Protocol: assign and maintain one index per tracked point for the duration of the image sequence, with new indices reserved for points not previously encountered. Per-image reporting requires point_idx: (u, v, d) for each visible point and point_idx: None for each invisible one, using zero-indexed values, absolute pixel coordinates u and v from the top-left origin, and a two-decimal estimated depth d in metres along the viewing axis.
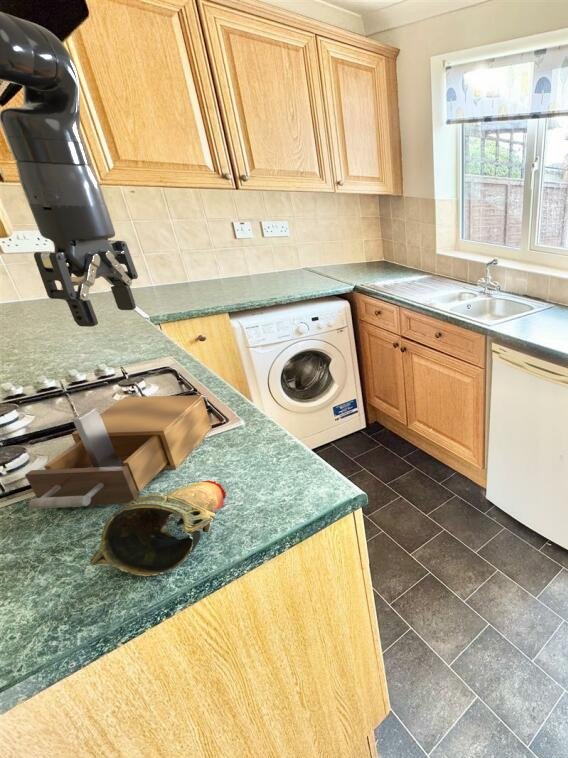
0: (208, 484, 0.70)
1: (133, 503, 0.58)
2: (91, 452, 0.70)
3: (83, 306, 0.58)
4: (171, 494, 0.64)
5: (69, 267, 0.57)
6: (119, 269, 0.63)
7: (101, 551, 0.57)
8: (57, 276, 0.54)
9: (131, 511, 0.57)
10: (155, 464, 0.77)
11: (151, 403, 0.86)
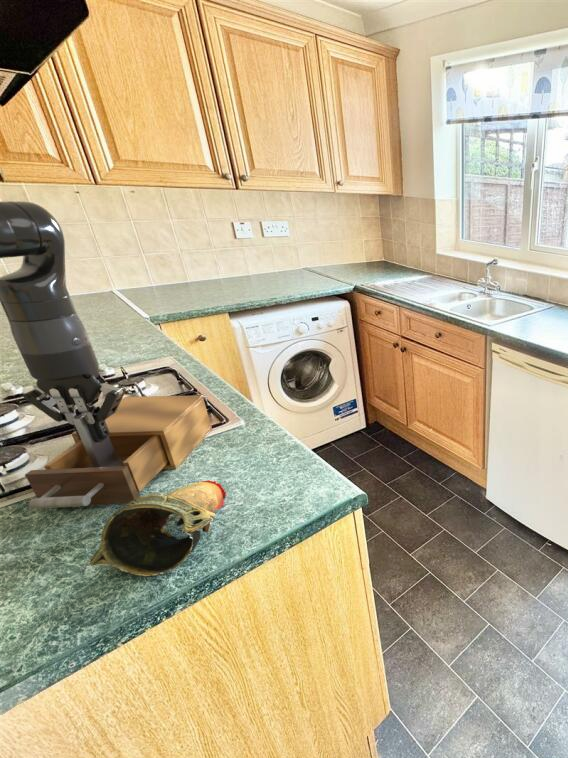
0: (208, 484, 0.70)
1: (133, 503, 0.58)
2: (91, 452, 0.70)
3: None
4: (171, 494, 0.64)
5: None
6: (79, 406, 0.67)
7: (101, 551, 0.57)
8: None
9: (131, 511, 0.57)
10: (155, 464, 0.77)
11: (151, 403, 0.86)
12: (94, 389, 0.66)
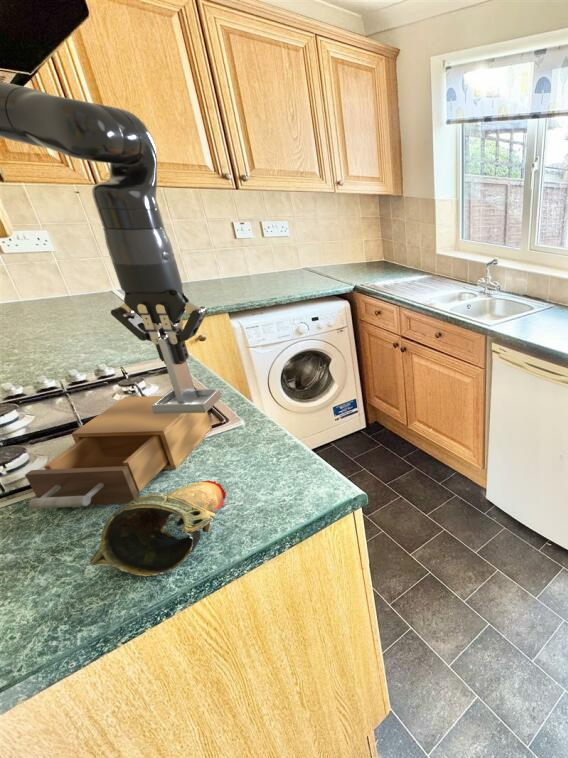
0: (208, 484, 0.70)
1: (133, 503, 0.58)
2: (173, 375, 0.70)
3: (159, 348, 0.69)
4: (171, 494, 0.64)
5: None
6: (164, 324, 0.67)
7: (101, 551, 0.57)
8: None
9: (131, 511, 0.57)
10: (155, 464, 0.77)
11: (151, 403, 0.86)
12: (179, 307, 0.67)
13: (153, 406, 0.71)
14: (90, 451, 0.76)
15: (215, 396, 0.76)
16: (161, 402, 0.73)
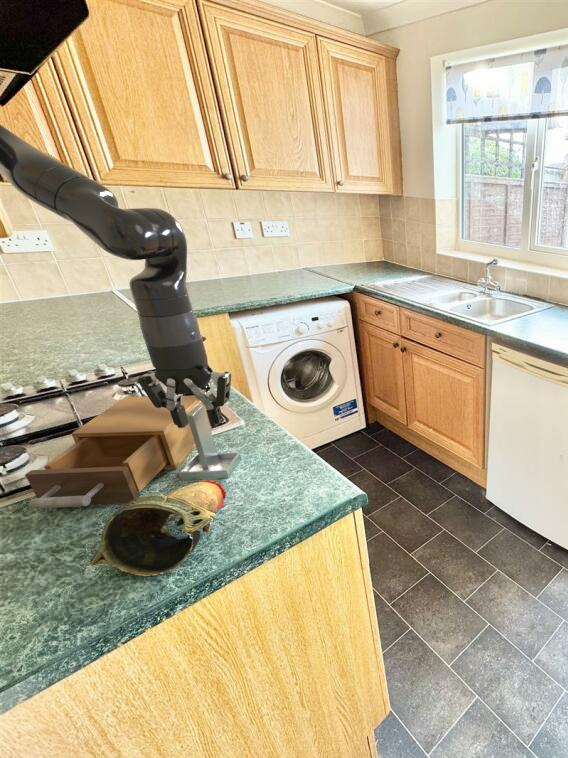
0: (208, 484, 0.70)
1: (133, 503, 0.58)
2: (199, 445, 0.77)
3: (173, 413, 0.74)
4: (171, 494, 0.64)
5: None
6: (197, 394, 0.73)
7: (101, 551, 0.57)
8: None
9: (131, 511, 0.57)
10: (155, 464, 0.77)
11: (151, 403, 0.86)
12: (205, 379, 0.73)
13: (181, 473, 0.77)
14: (90, 451, 0.76)
15: (236, 460, 0.82)
16: (187, 468, 0.79)
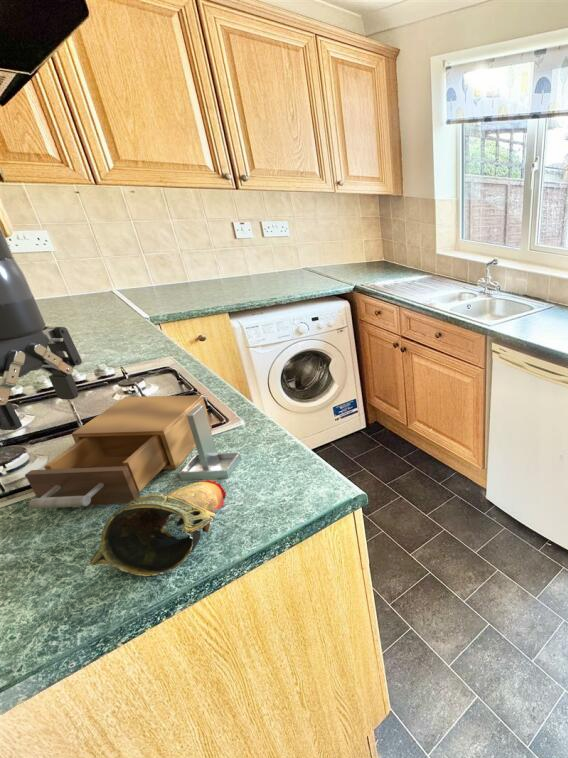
0: (208, 484, 0.70)
1: (133, 503, 0.58)
2: (199, 445, 0.77)
3: (2, 410, 0.52)
4: (171, 494, 0.64)
5: None
6: (54, 360, 0.58)
7: (101, 551, 0.57)
8: None
9: (131, 511, 0.57)
10: (155, 464, 0.77)
11: (151, 403, 0.86)
12: (47, 343, 0.57)
13: (181, 473, 0.77)
14: (90, 451, 0.76)
15: (236, 460, 0.82)
16: (187, 468, 0.79)
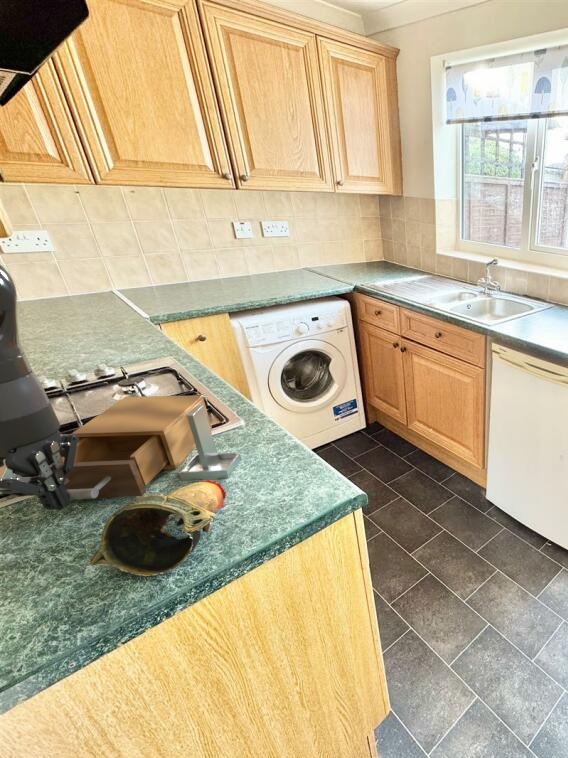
0: (208, 484, 0.70)
1: (133, 503, 0.58)
2: (199, 445, 0.77)
3: (52, 495, 0.62)
4: (171, 494, 0.64)
5: None
6: (57, 462, 0.62)
7: (101, 551, 0.57)
8: (18, 491, 0.57)
9: (131, 511, 0.57)
10: (161, 458, 0.78)
11: (151, 403, 0.86)
12: (59, 438, 0.63)
13: (181, 473, 0.77)
14: (97, 446, 0.78)
15: (236, 460, 0.82)
16: (187, 468, 0.79)
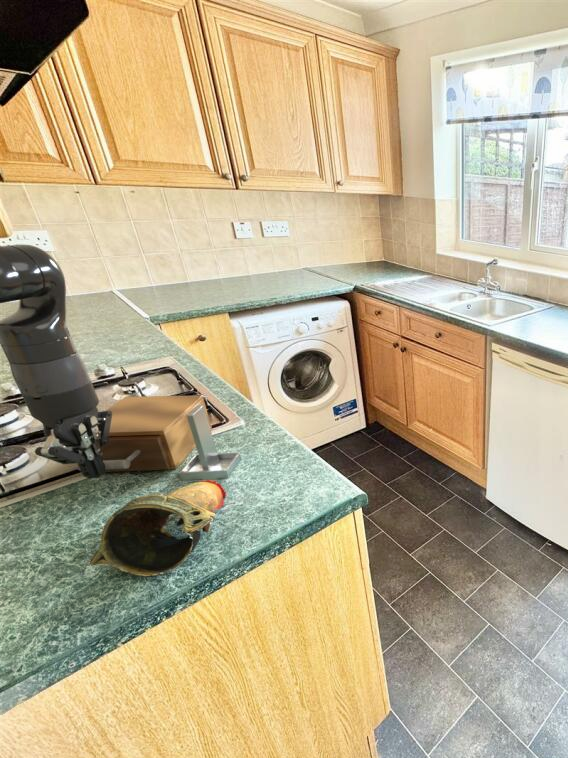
0: (208, 484, 0.70)
1: (133, 503, 0.58)
2: (199, 445, 0.77)
3: (90, 464, 0.69)
4: (171, 494, 0.64)
5: None
6: (96, 435, 0.69)
7: (101, 551, 0.57)
8: (64, 458, 0.64)
9: (131, 511, 0.57)
10: None
11: (151, 403, 0.86)
12: (97, 413, 0.70)
13: (181, 473, 0.77)
14: None
15: (236, 460, 0.82)
16: (187, 468, 0.79)
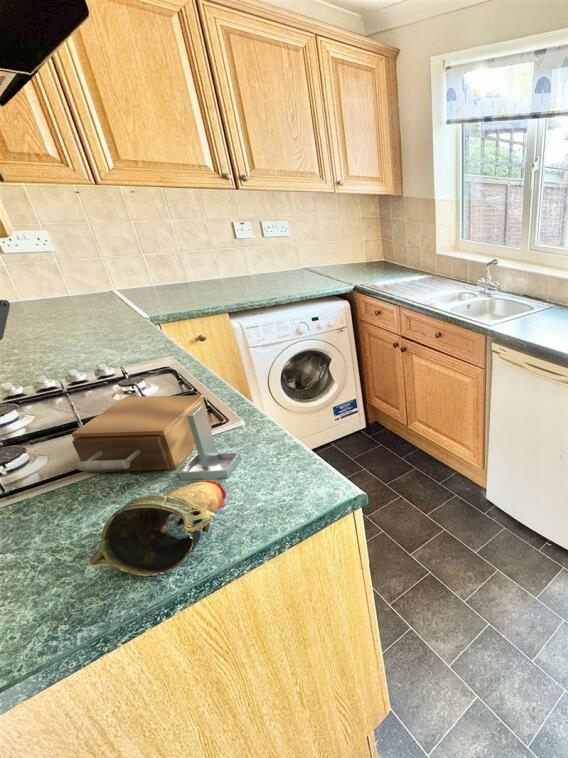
0: (208, 484, 0.70)
1: (133, 503, 0.58)
2: (199, 445, 0.77)
3: None
4: (171, 494, 0.64)
5: None
6: None
7: (101, 551, 0.57)
8: None
9: (131, 511, 0.57)
10: None
11: (151, 403, 0.86)
12: None
13: (181, 473, 0.77)
14: None
15: (236, 460, 0.82)
16: (187, 468, 0.79)
